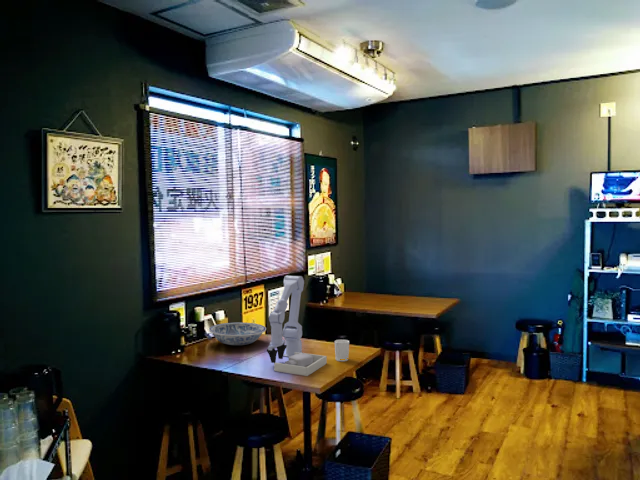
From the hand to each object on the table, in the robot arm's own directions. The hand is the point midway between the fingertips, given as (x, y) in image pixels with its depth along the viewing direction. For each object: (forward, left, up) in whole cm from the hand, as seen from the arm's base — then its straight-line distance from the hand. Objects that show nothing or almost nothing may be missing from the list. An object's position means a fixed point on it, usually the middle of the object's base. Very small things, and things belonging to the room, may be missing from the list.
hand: (276, 360), depth 254 cm
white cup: (-21, +28, -2) cm, 35 cm away
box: (0, +14, -2) cm, 14 cm away
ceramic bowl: (-25, -42, -2) cm, 49 cm away
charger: (-1, +11, -2) cm, 11 cm away
